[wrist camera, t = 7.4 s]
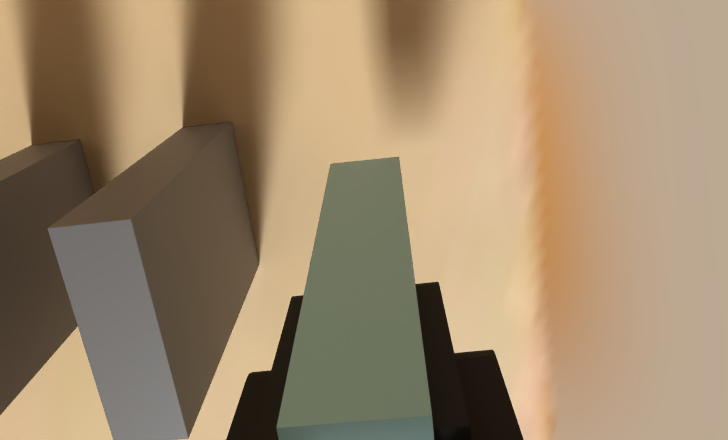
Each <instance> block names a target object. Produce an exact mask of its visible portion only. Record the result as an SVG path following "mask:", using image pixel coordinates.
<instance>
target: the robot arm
mask: <svg viewBox="0 0 728 440" xmlns="http://www.w3.org/2000/svg"><path fill="white" fill-rule="evenodd" d="M415 286H416V294H417V302H418V310H419V317H420V325H421V333H422V341H423V349H424V356H425V364H426V372H427V380H428V388H429V395H430V403H431V411H432V420H433V432H434V440H523V437H522V434H521V431H520V428H519V425H518V422H517V419H516V416H515V413H514V410H513V407H512V404H511V401H510V397H509V394H508V391H507V388H506V385H505V382H504V379H503V376H502V373H501V370H500V367H499V364H498V361H497V358H496V355H495V353H494V351H493V350H484V351H473V352H462V353H454V350H453V346H452V341H451V337H450V332H449V327H448V323H447V318H446V314H445V309H444V304H443V300H442V295H441V291H440V286H439V282H432V283H422V284H415ZM303 296H304V295H303ZM303 296H293V297H292V298H291V301H290V305H289V308H288V312H287V316H286V319H285V323H284V327H283V330H282V334H281V338H280V341H279V345H278V348H277V352H276V356H275V359H274V363H273V367H272V370H271V371H261V372H252V373H250V374H249V375H248V377H247V379H246V382H245V385H244V388H243V391H242V394H241V397H240V400H239V403H238V406H237V409H236V412H235V415H234V418H233V421H232V424H231V427H230V430H229V433H228V436H227V439H226V440H279V438H278V434H277V429H276V427H277V423H278V418H279V413H280V408H281V403H282V398H283V393H284V388H285V384H286V379H287V374H288V369H289V364H290V359H291V354H292V350H293V345H294V340H295V335H296V330H297V325H298V320H299V315H300V311H301V306H302V301H303Z"/></svg>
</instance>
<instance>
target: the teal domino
mask: <svg viewBox="0 0 728 440" xmlns="http://www.w3.org/2000/svg"><path fill="white" fill-rule="evenodd" d="M276 429H277V434H278V438H279V440H434V432H433V420H432V411H431V403H430V395H429V388H428V380H427V372H426V364H425V356H424V349H423V341H422V333H421V325H420V317H419V310H418V302H417V294H416V286H415V278H414V271H413V263H412V255H411V247H410V239H409V232H408V224H407V216H406V208H405V200H404V193H403V185H402V177H401V169H400V161H399V157H392V158H383V159H373V160H363V161H354V162H344V163H334V164H331V165H330V169H329V174H328V179H327V184H326V189H325V194H324V199H323V203H322V208H321V213H320V218H319V223H318V228H317V233H316V238H315V242H314V247H313V252H312V257H311V262H310V267H309V272H308V277H307V281H306V286H305V291H304V296H303V301H302V306H301V311H300V315H299V320H298V325H297V330H296V335H295V340H294V345H293V350H292V354H291V359H290V364H289V369H288V374H287V379H286V384H285V388H284V393H283V398H282V403H281V408H280V413H279V418H278V423H277V427H276Z"/></svg>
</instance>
